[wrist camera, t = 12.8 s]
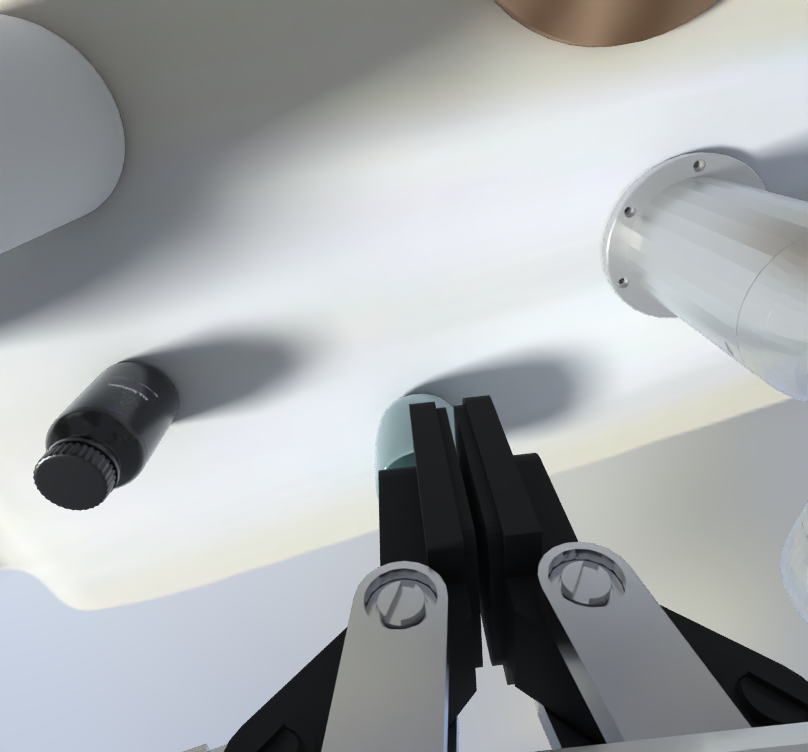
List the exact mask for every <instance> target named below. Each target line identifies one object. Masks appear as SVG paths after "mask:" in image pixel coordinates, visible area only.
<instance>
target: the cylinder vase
mask: <svg viewBox="0 0 808 752" xmlns="http://www.w3.org/2000/svg"><path fill="white" fill-rule="evenodd" d="M124 157H125V138H124V130H123V125H122V121H121V117H120V114H119V111H118V108H117V106H116V103H115V101H114V99H113V97H112V95H111V93H110V91H109V89H108V87H107V86H106V84H105V82H104V81H103V79H102V78H101V76H100V75H99V74H98V72H97V71H96V70H95V68H94V67H93V66H92V65H91V64H90V63H89V61H88V60H87V59H86V58H85V57H84V56H83V55H82V54H81V53H80V52H79V51H77V50H76V49H75V48H74V47H73V46H72V45H70V44H69V43H68V42H67V41H65V40H64V39H62V38H61V37H59V36H58V35H56V34H55V33H53V32H51V31H50V30H48V29H46V28H44V27H42V26H40V25H38V24H35V23H33V22H30V21H27V20H24V19H21V18H17V17H13V16H8V15H2V14H0V254H2V253H4V252H7V251H9V250H11V249H13V248H15V247H17V246H20V245H22V244H24V243H26V242H28V241H30V240H33V239H35V238H37V237H39V236H41V235H43V234H46V233H48V232H50V231H52V230H54V229H56V228H59V227H61V226H63V225H65V224H67V223H69V222H72V221H74V220H76V219H78V218H80V217H82V216H85V215H87V214H89V213H90V212H92V211H94V210H95V209H96V208H98V207H99V206H100V205H101V204H102V203H103V202H105V200H106V199H107V198H108V197H109V196H110V195H111V193H112V192H113V190H114V188H115V187H116V185H117V183H118V181H119V178H120V175H121V172H122V169H123V164H124Z"/></svg>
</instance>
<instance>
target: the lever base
mask: <svg viewBox="0 0 808 752" xmlns="http://www.w3.org/2000/svg"><path fill="white" fill-rule="evenodd" d="M717 1H718V0H494V2H495V3H496V4H498V5H499V6H500V7H501V8H502V9H503V10H504V11H505V12H506V13H507V14H508V15H509V16H510V17H512V18H513V19H515V20H516V21H518V22H519V23H520V24H522V25H523V26H525V27H526V28H528V29H529V30H531V31H533V32H536V33H538V34H540V35H542V36H544V37H546V38H548V39H551V40H555V41H558V42H562V43H565V44H569V45H576V46H584V47H611V46H617V45H623V44H628V43H634V42H639V41H643V40H646V39H649V38H652V37H655V36H658V35H661V34H664V33H666V32H668V31H670V30H673V29H675V28H677V27H679V26H681V25H683V24H685V23H687V22H688V21H690V20H691V19H693V18H694V17H696V16H698V15H699V14H701V13H702V12H704V11H705V10H707V9H708V8H709V7H711V6H712V5H713V4H714V3H716V2H717Z"/></svg>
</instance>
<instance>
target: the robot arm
mask: <svg viewBox="0 0 808 752" xmlns="http://www.w3.org/2000/svg"><path fill="white" fill-rule="evenodd" d="M695 162H696V165H695V166H694V163H695ZM693 166H694V167H693ZM627 207H628V211H627V212H625V209H626V208H627ZM624 212H625V213H624ZM602 256H603V264H604V270H605V273H606V276H607V279H608V281H609V283H610V285H611V286H612V288H613V290H614V291H615V293H616V294H617V295H618V296H619V297H620V298H621V299H622V300H623V301H624V302H625V303H627V304H628V305H629V306H631V307H632V308H633V309H635V310H637V311H639V312H641V313H644V314H646V315H650V316H654V317H659V318H677V317H679V318H681V319H682V320H683V321H684V322H686V323H687V324H688V325H690V326H691V327H692V328H694V329H695V330H696V331H698V332H699V333H700V334H702V335H703V336H704V337H706V338H707V339H708V340H710V341H711V342H712V343H714V344H715V345H716V346H718V347H719V348H720V349H722V350H723V351H724V352H726V353H727V354H728V355H730V356H731V357H732V358H734V359H735V360H736V361H738V362H739V363H740V364H742V365H743V366H744V367H746V368H747V369H748V370H750V371H751V372H752V373H754V374H755V375H757V376H758V377H759V378H761V379H762V380H763V381H765V382H766V383H767V384H769V385H770V386H771V387H773V388H775V389H776V390H778V391H780V392H782V393H783V394H786V395H788V396H791V397H793V398H796V399H798V400H802V401H806V402H808V202H806V201H802V200H799V199H795V198H791V197H788V196H784V195H780V194H776V193H773V192H769V191H767V190H766V188H765V185H764V183H763V181H762V180H761V179H760V177H759V176H758V175H757V174H756V172H755V171H754V170H753V169H752V168H750V167H749V166H748V165H746V164H745V163H744V162H742V161H740V160H738V159H735V158H733V157H730V156H728V155H723V154H718V153H708V152H696V153H690V154H683V155H680V156H677V157H674V158H672V159H669V160H666V161H664V162H663V163H661V164H659V165H657V166H655V167H654V168H652V169H650V170H649V171H648V172H646V173H645V174H644V175H643V176H641V177H640V178H639V179H638V180H636V182H635V183H634V184H633V185H632V186H631V187H630V188H629V189H628V190H627V191H626V193H625V194H624V195H623V197H622V198H621V200H620V201H619V203H618V204H617V206H616V207H615V209H614V211H613V213H612V215H611V218H610V220H609V222H608V224H607V228H606V232H605V236H604V240H603V254H602ZM621 278H622V280H621V281H620V282H619V280H620V279H621ZM409 410H410V420H411V429H412V439H413V448H414V457H415V466H413V467H404V468H395V469H386V470H379V472H378V480H379V525H380V567H378V568H377V569H375V570H374V571H372V572H371V573H369V574H368V575H367V576H366V577H365V578H364V579H363V581H362V582H361V583H360V584H359V585H358V588H357V590H356V593H355V595H354V599H353V604H352V608H351V613H350V618H349V622H348V627H347V628H346V629H345V630H344V631H342V632H341V633H340V634H339V636H337V637H336V638H335V639H334V640H333V641H332V642H331V643H330V644H329V645H328V646H326V648H324V650H322V651H321V652H320V653H319V654H318V655H317V656H316V657H315V658H314V659H313V660H312V661H311V662H309V663H308V664H307V665H306V666H305V667H304V668H303V669H302V670H301V671H300V672H299V673H298V674H297V675H296V676H295V677H294V678H292V679H291V681H289V682H288V683H287V684H286V685H285V686H284V687H283V688H282V689H281V690H280V691H279V692H278V693H277V694H275V695H274V696H273V697H272V698H271V699H270V700H269V701H268V702H267V703H266V704H265V705H264V706H263V707H262V708H261V709H260V710H258V711H257V712H256V713H255V714H254V715H253V716H252V717H251V718H250V719H249V720H248V721H247V722H246V723H245V724H244V725H243V726H242V727H241V728H240V729H239V730H238V731H237V733H236V734H235V735H234V736H233V737H232V738H231V740H230V741H229V742H228V744H227V745H224V746H221V747H218V748H215V749H212V750H209V748H208V745H207V744H204V745H201V746H198V747H195V748H192V749H189V750H187V751H184V752H459V722H458V714H459V713H460V712H461V710H462V709H463V707H464V706H465V705H466V704H467V702H468V701H469V700H470V699H471V697H472V696H473V695H474V693H475V692H476V672H475V668H478V667H483V658H482V638H481V617H482V622H483V627H484V632H485V636H486V641H487V646H488V650H489V655H490V660H491V663H492V666H496V665H503V668H504V672H505V676H506V681H507V685H510V684H515V687H517V688H518V689H520V690H521V691H523V692H524V693H526V694H527V695H529V696H530V697H531V698H533V699H534V700H535V706H536V710H537V713H538V717H539V719H540V722H541V724H542V727H543V729H544V731H545V734H546V736H547V738H548V741H549V743H550V745H551V748H552V750H546V751H537V752H808V681H806V680H805V679H804V678H803V677H801V676H800V675H798V674H797V673H795V672H793V671H792V670H790V669H788V668H787V667H785V666H783V665H781V664H779V663H777V662H775V661H773V660H771V659H769V658H767V657H765V656H763V655H761V654H759V653H757V652H755V651H753V650H751V649H749V648H747V647H744V646H743V645H741V644H739V643H737V642H734V641H733V640H730V639H728V638H726V637H724V636H722V635H720V634H718V633H716V632H714V631H712V630H710V629H708V628H706V627H704V626H702V625H700V624H698V623H696V622H694V621H692V620H690V619H687V618H686V617H684V616H682V615H679V614H677V613H675V612H673V611H671V610H669V609H667V608H665V607H663V606H661V605H659V604H658V602H657V601H656V600H655V598H654V597H653V596H652V594H651V593H650V592H649V590H648V589H647V588H646V586H645V585H644V584H643V582H642V581H641V580H640V578H639V577H638V576H637V574H636V573H635V572H634V570H633V569H632V568H631V567H630V566H629V564H628V563H627V562H626V561H625V560H624V559H623V558H622V557H621V556H619V555H618V554H616V553H614V552H613V551H611V550H610V549H608V548H605V547H602V546H599V545H596V544H593V543H585V542H578V540H577V538H576V536H575V533H574V531H573V529H572V527H571V525H570V522H569V520H568V518H567V516H566V514H565V511H564V509H563V507H562V505H561V503H560V501H559V498H558V496H557V494H556V492H555V489H554V487H553V485H552V483H551V481H550V478H549V476H548V474H547V472H546V470H545V468H544V465H543V463H542V461H541V459H540V457H539V455H538V454H536V453H530V454H521V455H513V454H512V452H511V449H510V446H509V444H508V441H507V439H506V436H505V434H504V431H503V428H502V426H501V423H500V421H499V418H498V415H497V413H496V410H495V408H494V405H493V402H492V400H491V397H490V396H489V395H488V396H479V397H470V398H463V405H460V406H454V409H453V410H454V427H455V443H456V448H455V444H454V440H453V435H452V431H451V427H450V423H449V418H448V414H447V410H446V407H442V408H436V405H435V402H424V403H415V404H409ZM781 576H782V580H783V584H784V587H785V590H786V592H787V594H788V596H789V598H790V599H791V601H792V603H793V605H794V606H795V608H796V609H797V610H798V612H799V613H800V614H801V616H802V617H803V618H804V619H805V620H806V622H807V623H808V502H807V503H806V505H805V507H804V508H803V511H802V513H801V514H800V516H799V518H798V519H797V521H796V522H795V524H794V526H793V528H792V530H791V532H790V534H789V536H788V538H787V540H786V543H785V546H784V548H783V552H782V557H781ZM480 613H481V615H480ZM480 616H481V617H480Z"/></svg>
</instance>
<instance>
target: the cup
mask: <svg viewBox="0 0 808 752" xmlns="http://www.w3.org/2000/svg"><path fill="white" fill-rule="evenodd" d="M424 402H435V405H436V408H442V407H446V410H447V414H448V418H449V423H450V427H451V431H452V435H453V440H454V444H455V448H456V443H455V427H454V410H453V407H452V406H451V405H450V404H449V403H447V402H446V401H445V400H444V399H442V398H440V397H438V396H434V395H431V394H413V395H408V396H405V397H402V398H400V399H398V400H397V401H395V402H393V403H392V404H391V405H390V406H389V407H388V408H387V409H386V411H385V412H384V414H383V415H382V418H381V420H380V423H379V426H378V430H377V437H376V446H375V482H376V492H377V496H378V500H379V480H378V472H379V470H386V469H395V468H404V467H413V466H415V457H414V448H413V439H412V429H411V420H410V410H409V404H415V403H424Z"/></svg>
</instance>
